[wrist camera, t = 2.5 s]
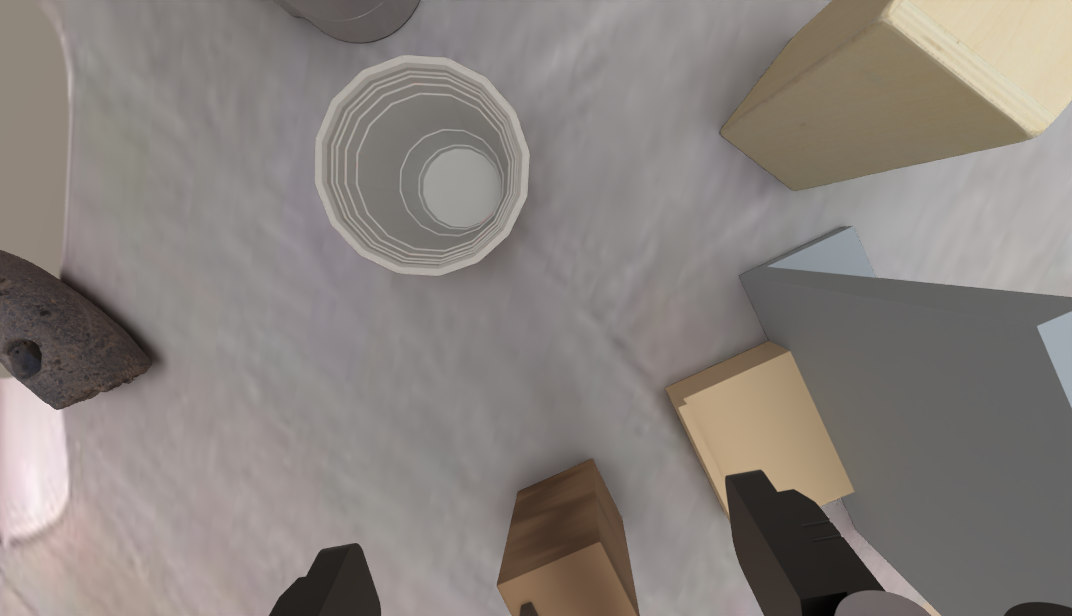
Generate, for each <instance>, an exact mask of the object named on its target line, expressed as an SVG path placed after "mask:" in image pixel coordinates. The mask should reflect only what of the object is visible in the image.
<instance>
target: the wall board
mask: <svg viewBox="0 0 1072 616" xmlns="http://www.w3.org/2000/svg"><path fill="white" fill-rule="evenodd" d="M739 277H740V279H741V282H742V284H743V286H744V288H745V290H746V292H747V295H748V297H749V299H750V301H751V303H752V305H753V308H754V310H755V312H756V314H757V316H758V318H759V321H760V323H761V325H762V327H763V329H764V331H765V334H766V336H767V338H768V340H769V341H767V342H765V343H763V344H761V345H758V346H756V347H754V348H752V349H750V350H747V351H745V352H743V353H741V354H739V355H736V356H734V357H732V358H730V359H728V360H725V361H723V362H721V363H719V364H717V365H714V366H712V367H710V368H708V369H706V370H703V371H701V372H699V373H697V374H695V375H692V376H690V377H688V378H686V379H683V380H681V381H679V382H677V383H675V384H672V385H670V386H668V387H666V388H665V389H666V391H667V393H668V395H669V397H670V400H671V402H672V404H673V406H674V408H675V410H676V412H677V414H678V416H679V418H680V421H681V423H682V425H683V427H684V429H685V431H686V433H687V435H688V437H689V439H690V441H691V444H692V446H693V448H694V450H695V452H696V454H697V456H698V458H699V460H700V462H701V465H702V467H703V469H704V471H705V473H706V475H707V477H708V479H709V481H710V483H711V486H712V488H713V490H714V492H715V494H716V496H717V498H718V500H719V502H720V504H721V507H722V509H723V511H724V513H725V514H726V516H727V518H728V520H729V521H730V516H729V509H728V502H727V494H726V487H725V476H726V475H732V474H737V473H743V472H748V471H754V470H759V469H761V470H762V471H763V472H764V473H765V474H766V476H767V477H768V479H769V480H770V482H771V483H772V484H773V486H774V487H775V489H776V490H777V492H779V491H785V490H791V489H795V490H796V491H798V492H800V493H802V494H803V495H805V496H807V497H808V498H810V499H812V500H813V501H815V502H816V503H817V504H818V506H819V507H820V506H822V505H824V504H827V503H829V502H832V501H834V500H836V499H839V498H842V501H843V503H844V505H845V507H846V509H847V511H848V514H849V516H850V518H851V520H852V522H853V524H854V527H855V529H856V531H857V532H858V533H859V534H860V535H861V536H862V537H863V538H864V539H865V540H866V541H867V542H868V543H869V544H870V545H871V546H872V547H873V548H874V549H875V550H876V551H877V552H878V553H879V554H880V555H881V556H882V557H883V558H884V559H885V560H886V561H887V562H888V563H889V564H890V565H891V566H892V567H893V568H894V569H895V570H896V571H897V572H898V573H899V574H900V575H901V576H902V577H903V578H904V579H905V580H906V581H907V582H908V583H909V584H910V585H911V586H912V587H913V588H914V589H915V590H916V591H917V592H918V593H919V594H920V595H921V596H922V597H923V598H924V599H925V600H926V601H927V602H928V603H929V604H930V605H932V607H933V608H934V609H936V611H937V612H939V613H940V614H941V616H1004V614H1005V613H1006V612H1007V611H1008V610H1009V609H1010V608H1012V607H1013V606H1016V605H1018V604H1022V603H1027V602H1048V603H1054V604H1059V605H1063V606H1067V607H1070V608H1072V297H1064V296H1054V295H1044V294H1034V293H1024V292H1014V291H1004V290H994V289H984V288H974V287H964V286H954V285H944V284H934V283H924V282H914V281H904V280H894V279H884V278H876V276H875V274H874V271H873V269H872V267H871V265H870V262H869V260H868V258H867V256H866V253H865V251H864V249H863V247H862V244H861V242H860V240H859V238H858V235H857V233H856V231H855V229H854V226H848V227H842V228H839V229H837V230H835V231H833V232H831V233H829V234H827V235H824V236H822V237H820V238H818V239H816V240H814V241H812V242H809V243H807V244H805V245H803V246H801V247H799V248H797V249H794V250H792V251H790V252H788V253H786V254H784V255H782V256H780V257H777V258H775V259H773V260H771V261H769V262H767V263H765V264H762V265H760V266H758V267H756V268H754V269H752V270H750V271H747V272H745V273H743V274H741V275H739Z"/></svg>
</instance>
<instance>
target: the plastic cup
mask: <svg viewBox="0 0 1072 616" xmlns="http://www.w3.org/2000/svg"><path fill="white" fill-rule="evenodd" d="M529 156H530V153H529V150H528V147H527V144H526V141H525V138H524V135H523V132H522V129H521V126H520V123H519V120H518V117H517V114H516V111H515V110H514V109H513V108H512V107H511V106H510V104H509V103H508V102H507V101H506V100H505V99H504V97H503V96H502V95H501V94H500V93H499V92H498V90H497V89H496V88H495V87H494V86H493V85H492V83H491V82H490V81H489V80H488V79H487V78H486V77H484V76H482V75H480V74H478V73H476V72H474V71H472V70H470V69H468V68H466V67H464V66H462V65H460V64H458V63H456V62H454V61H453V60H451V59H449V58H443V57H427V56H411V55H402V56H399V57H397V58H394V59H391V60H389V61H386V62H383V63H380V64H378V65H375V66H372V67H370V68H367V69H364V70H362V71H361V72H360V73H359V74H358V75H357V76H356V77H355V78H354V79H353V80H352V81H351V82H350V83H349V84H348V85H347V86H346V87H345V88H344V89H343V90H342V91H341V92H340V93H339V94H338V95H336V96H335V97H334V98H333V99H332V101H331V103H330V106H329V108H328V110H327V113H326V115H325V118H324V120H323V122H322V125H321V127H320V130H319V132H318V134H317V137H316V139H315V185H316V187H317V190H318V192H319V195H320V198H321V200H322V203H323V205H324V208H325V210H326V213H327V215H328V218H329V220H330V223H331V225H332V226H333V227H334V228H335V229H336V230H337V231H338V232H339V233H340V234H341V235H342V236H343V237H344V239H345V240H346V241H347V242H348V243H349V244H350V245H351V246H352V247H353V248H354V249H355V250H356V251H357V252H358V254H359V255H360V256H363V257H365V258H367V259H369V260H371V261H373V262H375V263H377V264H379V265H381V266H384V267H386V268H388V269H390V270H392V271H394V272H396V273H399V274H416V275H433V276H441V275H443V274H446V273H449V272H452V271H455V270H458V269H461V268H464V267H466V266H469V265H472V264H475V263H478V262H479V261H480V260H481V259H483V258H484V257H485V256H486V255H487V254H488V253H489V252H490V251H492V250H493V249H494V248H495V247H496V246H497V245H498V244H499V243H500V242H502V241H503V240H504V239H505V238H506V237H507V236H508V235H509V234H510V232H511V230H512V227H513V225H514V223H515V221H516V219H517V217H518V215H519V213H520V211H521V209H522V206H523V204H524V202H525V200H526V198H527V192H528V174H529Z"/></svg>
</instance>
